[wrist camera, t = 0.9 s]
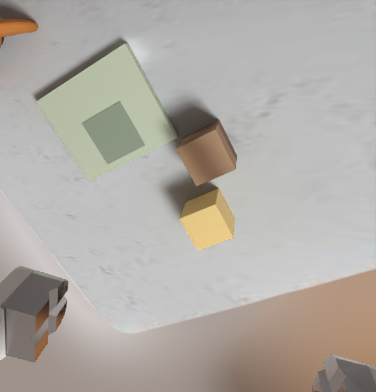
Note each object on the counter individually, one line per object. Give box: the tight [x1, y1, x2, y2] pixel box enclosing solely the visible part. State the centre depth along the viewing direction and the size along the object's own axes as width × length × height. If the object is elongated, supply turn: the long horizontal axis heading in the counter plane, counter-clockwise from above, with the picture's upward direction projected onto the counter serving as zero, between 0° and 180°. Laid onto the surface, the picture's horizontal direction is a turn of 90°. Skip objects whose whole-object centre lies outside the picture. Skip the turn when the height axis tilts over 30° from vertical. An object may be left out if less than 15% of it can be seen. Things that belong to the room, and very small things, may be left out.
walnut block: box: [176, 120, 237, 186], centre depth 39 cm, size 5×5×5 cm
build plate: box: [36, 43, 178, 182], centre depth 41 cm, size 14×12×1 cm
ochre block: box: [179, 188, 235, 250], centre depth 42 cm, size 5×5×5 cm
